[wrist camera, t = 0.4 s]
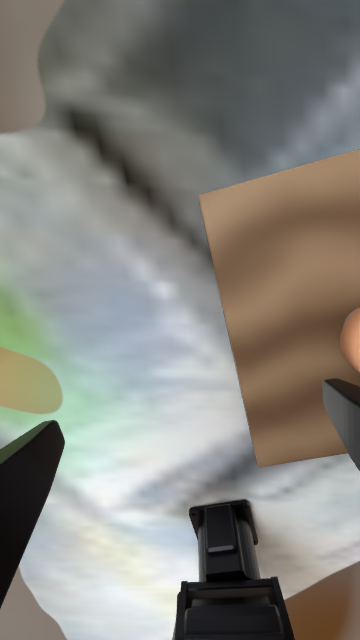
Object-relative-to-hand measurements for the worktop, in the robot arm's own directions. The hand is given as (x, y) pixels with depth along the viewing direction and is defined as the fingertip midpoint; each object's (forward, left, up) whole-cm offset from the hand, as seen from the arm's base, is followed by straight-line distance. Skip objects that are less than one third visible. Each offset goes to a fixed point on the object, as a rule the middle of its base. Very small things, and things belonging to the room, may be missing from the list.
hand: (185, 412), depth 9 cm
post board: (-5, -13, -14) cm, 19 cm away
